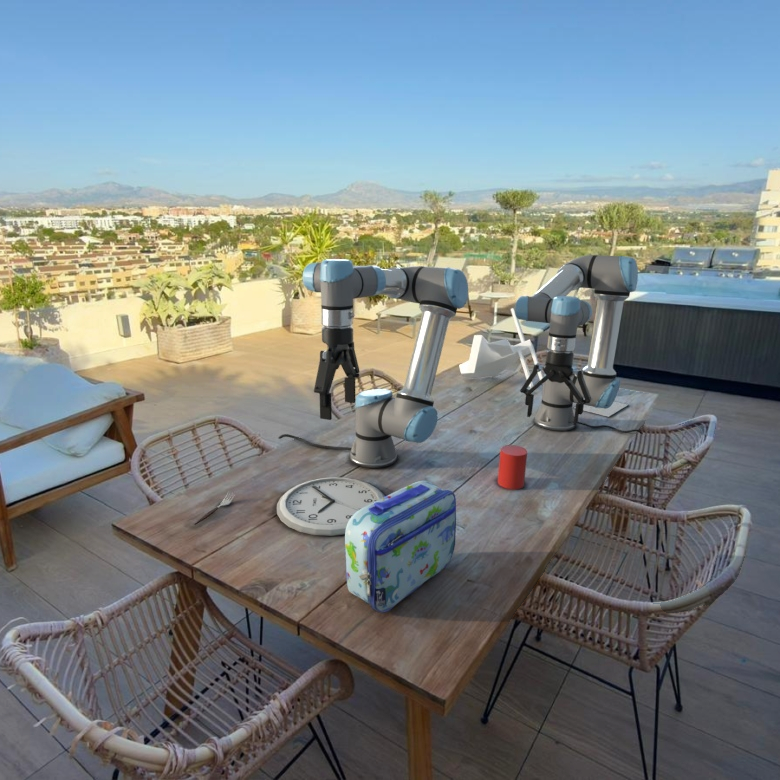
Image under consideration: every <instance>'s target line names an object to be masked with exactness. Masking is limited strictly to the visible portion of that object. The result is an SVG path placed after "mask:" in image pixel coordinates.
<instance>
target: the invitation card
mask: <svg viewBox="0 0 780 780" xmlns="http://www.w3.org/2000/svg"><path fill="white" fill-rule="evenodd" d="M628 406H629V404H627V403H623V402H618V401H614V402H613V404H612V405H611V406H610V407H609V408H607V409H604V408H595V407H592V406H588V405H584V408H583V412H587V413H593V414H596V415H600V416H604V417H608V418H609V417H611V416H613V415H614V414H616V413H617V412H619V411H621V410H623V409H624V408H626V407H628ZM573 409H576V406H574V407H573Z"/></svg>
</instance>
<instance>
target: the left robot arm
mask: <svg viewBox="0 0 780 780" xmlns="http://www.w3.org/2000/svg"><path fill="white" fill-rule="evenodd" d="M302 283H303V286H304V287H305V288H306V289H307V290H308V291H310V292H315V293H320V303H321V304H320V307H321V308H320V313H321V315H320V316H321V318H320V320H321V322H320V323H321V325H322V328H321V342H322V343H323V344H325V345H326V350H320V352H319V362H318V368H317V372H316V379H315V383H314V388H313V393H314V394H319V419H322V420H328V421H332V419H333V418H332V416H333V415H332V414H333V412H332V411H333V410H332V407H333V406H332V393H331V392H330V391H331V387H332V385H333V381H334V378H335V375H336V372H337V370H339V369H340V366H341V368H342V370H343V372H344V374H345V377H344V402H345V403H349V404H355V405H354V412H355V413H354V414H355V415H354V416H355V417H354V419H355V421H354V423H355V437H354V441H353V443H352V447H349V446H333V445H324V444H318V443H313V442H310V441H307V440H306V439H304V438H302V437H300V438H299V436H296V435H292V434H288V433H284V434H281V435H279V436H278V439H279V440H281V439H282V438H290V439H294V440H298V441H300V442H302V443H304V444H306V445H308V446H311V447H315V448H320V449H327V450H340V451H350V452H349V460H350V462H351V463H352V464H353V465H355V466H357V467H361V468H366V469H381V468H386V467H389V466H392V465H393V464H394V463H396V462H397V459H398V458H397V457H398V455H397V450H396V447H395V443H394V441H393V438H392V437H394V438H397V439H401V440H405V442H412V443H417V444H419V443H423V442H425V441H428V439H429V438H430V437H431V436H432V434H433V433H434V431H435V429H436V426H437V423H438V418H439V417H438V411H437V409H436V408H435V407H434V404H435V401H434V398H433V397H432V391H433V387H434V384H435V378H436V375H437V370H438V367H439V363H440V359H441V355H442V352H443V347H444V343H445V339H446V335H447V332H448V331H447V330H448V327H449V323H450V320H451V319H452V318H454V317H456V316H457V311H458V310H461V309H463V308H464V307H465V306H466V305H467V303H468V298H469V282H468V279H467V276H466V274H465V273H464V272H463V271H462V269H458V268H451V267H448V266H447V267H440V266H439V267H437V266H424V265H423V266H422V265H419V266H418V265H417V266H416V265H415V266H403V267H401V266H399V267H397V266H393V267H392V266H391V267H389V268H387V269H384V268H381V267H380V266H377V265H369V264H366V265H354V263H353V261H352V260H351V259H345V258H328V259H327V258H326V259H324V260H322V261H321V262H310V263H308V264H307V265H306V266H305V267H304V269H303V271H302ZM375 296H386V297H387V298H389V299H392V300H394V299H396V300H402V301H406V302H410V303H412V304H413V303H414V304H419V305H418V308H419V310H420V312H421V316H420V320H419V324H418V329H417V333H416V337H415V340H414V346H413V349H412V353H411V357H410V361H409V365H408V369H407V373H406V377H405V380H404V385H403V388H402V389H400V390H399V391H397V392H396V397H393V396H394V394H393V392H392V391H391V390H390V389H387V388H374V389H368V390H363V391H361V392H359V393H358V394H357V395H356V379H358V378H360V367H359V363H358V360H357V359H358V358H357V354H356V351H355V342H354V327H353V326H352V325H353V324H354V317H355V313H354V300H355V299H361V298H371V297H372V298H373V297H375Z"/></svg>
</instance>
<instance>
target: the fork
mask: <svg viewBox="0 0 780 780" xmlns="http://www.w3.org/2000/svg"><path fill="white" fill-rule="evenodd" d="M236 494H237V491H233V492H232V490H230V491H228V492H227V494H226V496H225V497H224V498H223V500H222V501H221V502H220V504H219V505H217V506H216V507H215V508H213V509H211V510H209V511H208V512H207V513H205V514H204V515H203V516H202V517H200V519H198V520H197V521H196V522H195V523H194V524H193V525H194V526H196V525H199V524H200V523H201V522H202V521H204V520H206V519H207V518H209V517H210V516H212V515H213V514H214V513H216V511H218V509H219V508H220V507H226V506H229V505H230V504H231V503H232V501H233V500H234V497H235V496H236Z"/></svg>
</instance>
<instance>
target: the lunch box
mask: <svg viewBox="0 0 780 780" xmlns="http://www.w3.org/2000/svg"><path fill="white" fill-rule="evenodd" d="M456 531H457V499H456V495H455V493H454V492H453V490H450V489H442V488H440V487H439V486H437V485H435V484H433V483H432V482H430V481H428V480H418V481H416V482H413V483H410V484H409V485H406V486H405V487H402V488H400V489H398V490H396V491H394V492H392V493H390V494H388V495H385V497H384V498H382V499H380V500H378V501H376V502H374V503H372V504H370V505H368V506H366V507H364V508H362V509H360V510H358V511H357V512H355V513H354V514H353V515H352V517H351V518H350V520H349V522H348V524H347V527H346V531H345V534H344V552H345V577H346V578H345V580H346V586H347V589H348V592H349V593H350V594H352V595H354V596H356V597H357V598H359V599H361V600H363V602H365V603H367V604H368V605H370V607H371V608H372V609H373V610H375V611H376V612H378V613H380V614H382V613H383V614H385V613H387V612H389V611H391V609H393V608H394V607H395V606H396V605H397V604H400V602H401V601H402V600H404V599H406V597H409V596H410V595H411V594H412V593H414V592H415V591H416V590H417V589H418V588H420V587H421V586H422V585H423V584H424V583H425V582H427V581H428V580H430V579H432V578H433V577H434V576H436V575H437V574H439V573H441V572H442V571H443V570H445V568H446V567H447V566H448V564H449V563H450V561H451V560H452V557H453V554H454V551H455V548H456V547H455V546H456Z"/></svg>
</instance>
